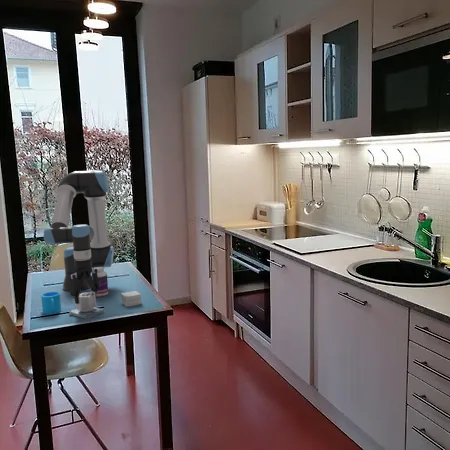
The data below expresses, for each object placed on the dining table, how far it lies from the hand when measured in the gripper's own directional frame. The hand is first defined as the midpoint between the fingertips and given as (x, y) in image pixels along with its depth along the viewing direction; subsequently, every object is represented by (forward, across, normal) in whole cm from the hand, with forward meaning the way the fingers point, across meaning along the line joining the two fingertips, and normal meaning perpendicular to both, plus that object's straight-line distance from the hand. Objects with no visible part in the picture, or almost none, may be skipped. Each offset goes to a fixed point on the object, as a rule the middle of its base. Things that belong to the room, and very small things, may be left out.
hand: (86, 307), depth 208 cm
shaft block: (+3, 0, 0) cm, 3 cm away
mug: (+3, -7, +16) cm, 18 cm away
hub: (0, 0, 0) cm, 0 cm away
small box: (+3, +21, -7) cm, 23 cm away
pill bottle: (+3, +23, +18) cm, 30 cm away
